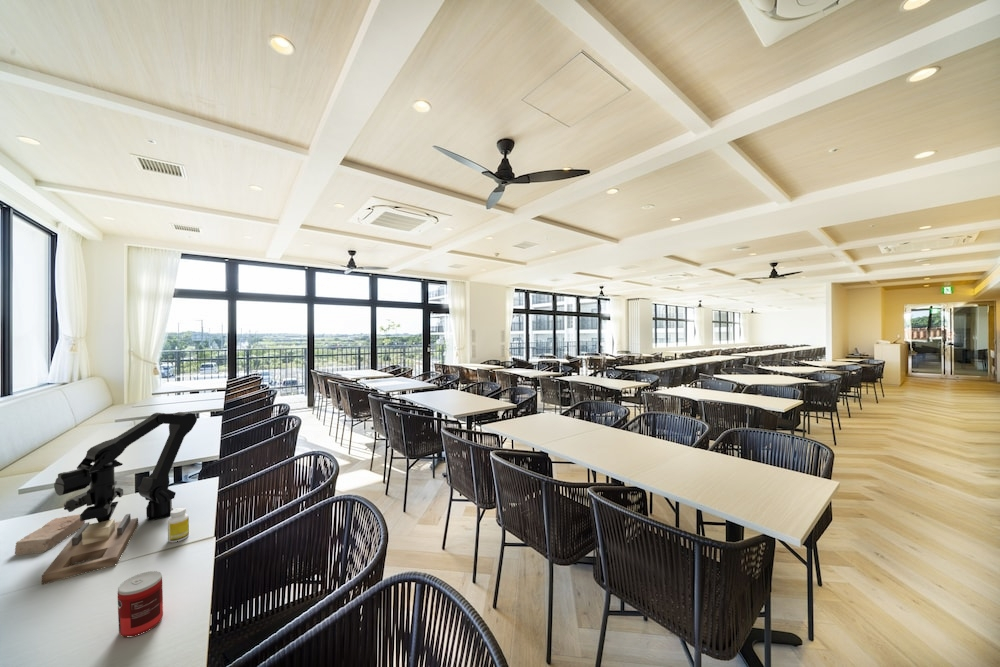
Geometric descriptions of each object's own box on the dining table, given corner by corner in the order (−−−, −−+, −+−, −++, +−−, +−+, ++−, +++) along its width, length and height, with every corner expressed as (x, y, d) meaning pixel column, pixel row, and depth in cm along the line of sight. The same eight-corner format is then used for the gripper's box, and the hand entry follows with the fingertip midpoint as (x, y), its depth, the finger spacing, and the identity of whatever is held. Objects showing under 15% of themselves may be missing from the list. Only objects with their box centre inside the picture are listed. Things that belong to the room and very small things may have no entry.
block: (114, 530, 127) (114, 519, 127) (109, 539, 122) (108, 527, 122) (89, 536, 124) (89, 524, 124) (82, 544, 119) (82, 532, 119)
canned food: (138, 614, 94) (136, 571, 93) (171, 612, 94) (170, 569, 94) (108, 640, 86) (107, 593, 86) (145, 637, 87) (144, 591, 86)
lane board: (138, 524, 136) (137, 510, 135) (116, 564, 113) (116, 548, 113) (78, 538, 127) (77, 523, 127) (41, 584, 104) (41, 567, 104)
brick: (47, 552, 120) (47, 537, 120) (12, 557, 117) (12, 542, 117) (86, 525, 135) (86, 513, 135) (56, 529, 133) (56, 516, 133)
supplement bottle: (192, 536, 128) (191, 508, 128) (173, 544, 123) (172, 515, 123) (183, 532, 130) (183, 504, 130) (164, 540, 125) (163, 512, 125)
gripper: (78, 478, 130) (80, 522, 130) (55, 499, 114) (56, 549, 115) (123, 471, 136) (124, 513, 136) (106, 490, 120) (107, 538, 121)
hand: (103, 527), depth 127 cm, fingers closed
